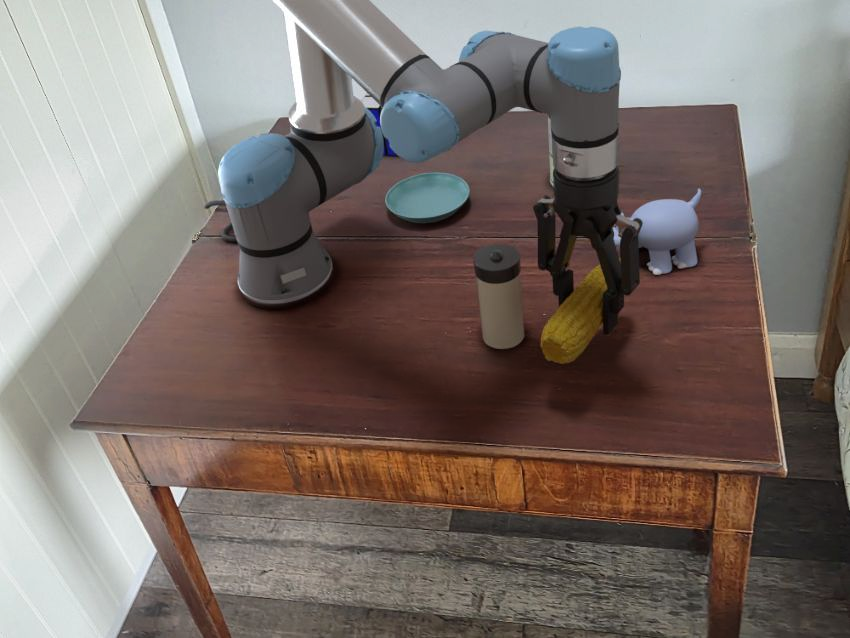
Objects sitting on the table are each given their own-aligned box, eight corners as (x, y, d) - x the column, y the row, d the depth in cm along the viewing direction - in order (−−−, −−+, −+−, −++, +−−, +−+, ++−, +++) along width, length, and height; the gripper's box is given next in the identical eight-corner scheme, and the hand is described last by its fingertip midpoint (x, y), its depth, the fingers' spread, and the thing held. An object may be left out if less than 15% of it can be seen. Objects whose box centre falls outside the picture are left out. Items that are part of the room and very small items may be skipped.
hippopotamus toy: (593, 247, 141) (593, 195, 135) (682, 225, 142) (686, 173, 136) (620, 285, 132) (621, 232, 126) (714, 262, 134) (720, 208, 128)
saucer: (405, 181, 164) (403, 169, 162) (482, 188, 158) (480, 175, 157) (374, 225, 153) (371, 212, 152) (454, 234, 148) (453, 221, 146)
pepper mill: (473, 341, 127) (463, 257, 118) (496, 316, 130) (489, 233, 121) (510, 354, 123) (503, 270, 114) (533, 329, 127) (528, 245, 118)
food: (576, 376, 110) (575, 340, 106) (534, 365, 112) (531, 328, 109) (637, 281, 123) (638, 245, 119) (598, 272, 126) (598, 237, 122)
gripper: (499, 165, 106) (512, 317, 120) (646, 200, 96) (641, 360, 110) (532, 137, 110) (541, 286, 124) (676, 167, 100) (667, 326, 114)
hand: (588, 321), depth 117 cm, fingers closed on food, 6 cm apart
